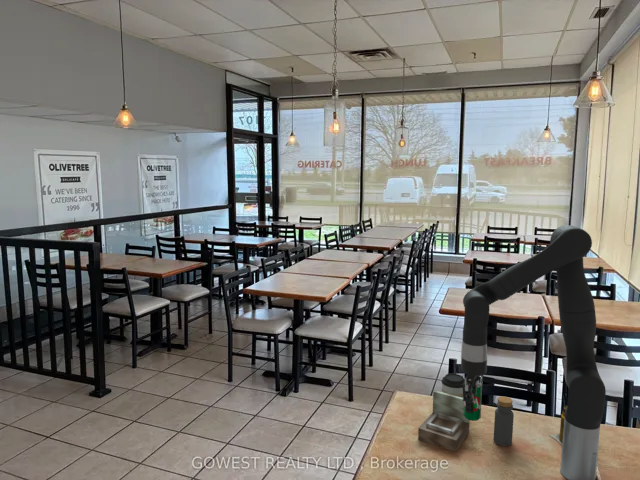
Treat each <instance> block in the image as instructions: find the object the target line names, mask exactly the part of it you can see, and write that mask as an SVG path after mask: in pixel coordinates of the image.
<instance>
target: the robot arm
mask: <svg viewBox="0 0 640 480" xmlns="http://www.w3.org/2000/svg"><path fill="white" fill-rule="evenodd" d="M549 243H550V244H549V245H548V246H547V247H544V249H543V250H541V251H540V252H538V253H537V254H534V255H533V256H531V257H529V258H528V259H525V260H523V261H520V262H518V263H516V264H514V265H512V266H510V267H507V269H505V270H503V271H502V272H500V273H499V274H498V275H495V277H493V278H492V279H490V280H488V281H486V282H484V283H481V284H479V285H478V286H475V287H473V288H472V289H471V290H469V291H467V292H466V294H465V295H464V297H463V299H462V304H463V307H464V324H463V327H462V344H461V351H460V353H461V354H460V356H461V358H460V359H461V360H460V370H461V371H462V372H463V373H464V374H465V375H466V376H465V378H464V379H465V384H463V385H462V388H463V401H466V412H467V413H471V414H472V413H473V412H474V397H475V395H476V394H477V386H478V385H479V382H481V384H482V385H483V382H484V375H486V374H487V371H488V324H489V319H490V318H489V317H490V305H492V304H494V303H496V302H497V301H504V300H507V299H508V298H510V297H512V296H514V295H515V294H517V293H519V291H521V290H522V289H524V288H526V287H527V286H529V285H531V284H532V283H533V282H536V281H537V280H538V279H540V278H543V277H544V276H546V275H548V274H549V273H551V272H554V271H555V270H556V289H557V301H558V302H557V303H558V305H557V306H558V313H559V323H560V328H561V334H562V337H563V341H564V346H565V352H566V369H565V370H566V371H565V373H566V374H565V375H566V376H565V380H566V382H565V383H566V385H567V387H568V396H567V404H566V406H567V408H566V410H565V418H564V430H563V443H562V444H561V445H562V446H561V456H560V457H561V458H560V459H561V460H560V474H561V475H562V476H563V478H565V479H567V480H596V477H597V469H598V456H599V448H600V447H599V443H600V431H601V422H602V420H603V418H604V413H605V404H606V395H607V394H606V392H607V391H606V386H605V383H604V381H603V379H602V378H601V376H600V373H599V369H598V367H597V362H596V361H597V360H596V356H595V340H596V333H597V317H596V316H597V315H596V307H595V306H596V305H595V302H594V301H595V300H594V297H593V294H592V290H591V287H590V286H589V283H588V279H587V277H586V274H585V270H584V257H586V256H587V254H589V252H590V251H591V250H592V246H593V239H592V237H591V234H589V232H587V231H586V230H585V229H583V228H581V227H578V226H574V225H570V224H568V225H567V224H564V225H560V226H558V227H557V228H556V229H554V230H553V232H552V234H551V236H550V238H549ZM474 388H475V389H474ZM472 389H474V392H472ZM468 396H469V397H468Z"/></svg>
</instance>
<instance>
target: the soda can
mask: <svg viewBox="0 0 640 480" xmlns="http://www.w3.org/2000/svg"><path fill="white" fill-rule="evenodd" d="M474 389H475V388H474ZM474 389H472V392H474ZM482 391H483V383H482V384H481V382H479V385H478V386H477V394H476V395H475V397H474V412H473V413H472V414H471V413H467V412H466V401H464V417H465V418H466V419H468V420H470V422H471V421H472V422H476V421H479V420H480V419H481V417H482ZM468 397H469V396H468Z"/></svg>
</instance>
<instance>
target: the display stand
mask: <svg viewBox="0 0 640 480" xmlns="http://www.w3.org/2000/svg"><path fill="white" fill-rule="evenodd" d="M432 394H433V395H432V412H431V413H430V414H429V416H428V417H427V418H426V419H425V420H424V421H423V422H422V424H420V425H419V426H418V428H417V429H418V432H417V433H418V434H417V440H420V441H423V442H425V443H428V444H432V445H435V446H438V447H440V448H443V449H447V450H449V451H452V452H457V450H458V449H459V448H460V446H461V445H462V443H463V442H464V440H465V439H466V438H467V436H468V435H469V433H470V422H471V420H468V419H466V418H465V417H464V401H463V398H461V397H458V396H454V395H450V394H447V393H443V392H442V391H438V390H433V392H432Z"/></svg>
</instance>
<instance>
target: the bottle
mask: <svg viewBox="0 0 640 480" xmlns="http://www.w3.org/2000/svg"><path fill="white" fill-rule="evenodd" d="M513 402H514V400H513V399H512V398H511V397H508V396H503V395H502V396H498V397H497V402H496V408H495V411H494V423H493V425H494V426H493V442H494V443H495V444H497V445H499V446H503V447H508V446H511V445H512V444H513V432H514V417H515V415H514V412H513V409H514V405H513Z"/></svg>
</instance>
